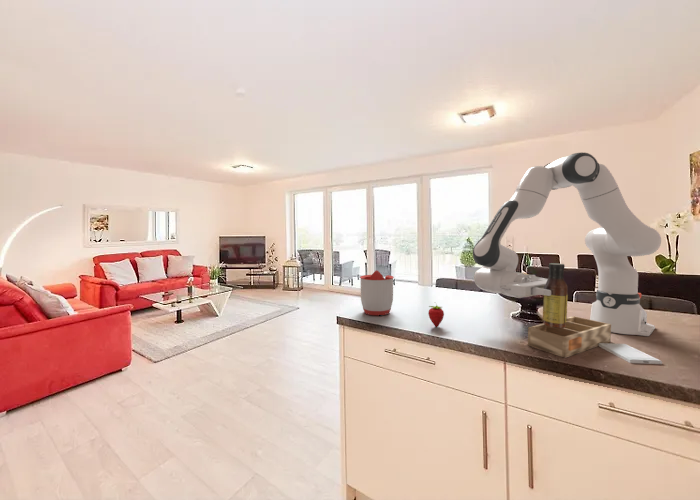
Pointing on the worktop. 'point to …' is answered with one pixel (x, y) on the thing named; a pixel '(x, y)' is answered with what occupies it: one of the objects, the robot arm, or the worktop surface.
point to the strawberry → (436, 315)
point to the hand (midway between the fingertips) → (558, 291)
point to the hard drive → (629, 353)
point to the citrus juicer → (376, 293)
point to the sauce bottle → (555, 298)
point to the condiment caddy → (569, 336)
